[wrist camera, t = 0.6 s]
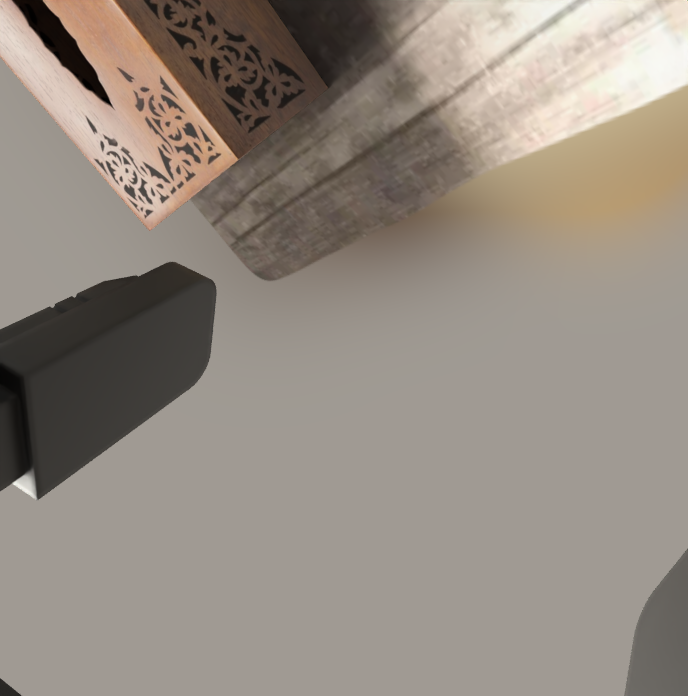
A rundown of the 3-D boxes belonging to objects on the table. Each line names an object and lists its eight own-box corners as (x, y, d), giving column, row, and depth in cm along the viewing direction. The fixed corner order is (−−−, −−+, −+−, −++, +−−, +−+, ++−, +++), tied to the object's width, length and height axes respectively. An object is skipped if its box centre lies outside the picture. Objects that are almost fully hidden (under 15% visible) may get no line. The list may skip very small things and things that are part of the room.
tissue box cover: (4, -123, 48) (-121, -84, 42) (54, -308, 36) (-107, -288, 31) (229, 167, 56) (149, 231, 50) (328, 88, 44) (238, 159, 39)
